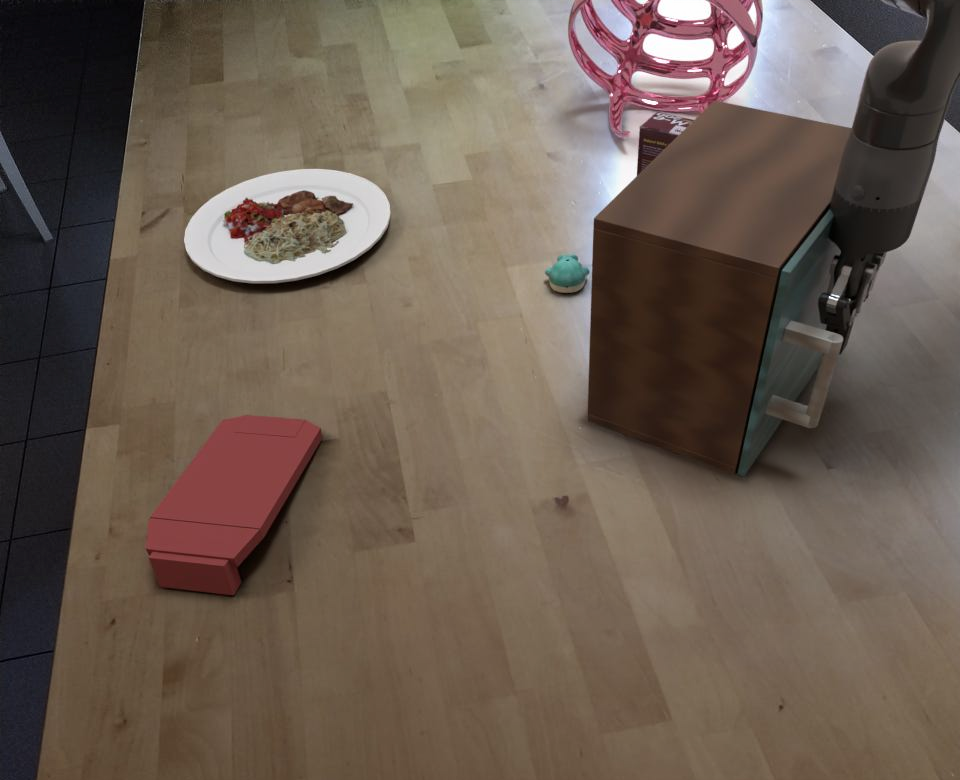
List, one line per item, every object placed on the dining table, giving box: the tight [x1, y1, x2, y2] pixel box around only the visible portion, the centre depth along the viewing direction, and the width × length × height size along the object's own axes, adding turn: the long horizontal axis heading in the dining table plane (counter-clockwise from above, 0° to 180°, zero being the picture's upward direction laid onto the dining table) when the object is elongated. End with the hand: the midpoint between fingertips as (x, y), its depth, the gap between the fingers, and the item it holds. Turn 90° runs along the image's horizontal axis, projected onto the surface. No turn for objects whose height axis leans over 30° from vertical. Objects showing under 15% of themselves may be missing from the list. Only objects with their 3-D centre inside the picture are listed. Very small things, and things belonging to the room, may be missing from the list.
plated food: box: [183, 168, 392, 284], centre depth 129 cm, size 30×30×3 cm
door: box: [737, 209, 843, 477], centre depth 91 cm, size 6×26×24 cm, turn 146°
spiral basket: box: [567, 0, 764, 139], centre depth 132 cm, size 28×28×27 cm
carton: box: [145, 414, 324, 596], centre depth 98 cm, size 12×5×25 cm
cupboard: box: [586, 101, 852, 475], centre depth 95 cm, size 18×26×24 cm
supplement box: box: [636, 111, 695, 177], centre depth 115 cm, size 9×5×16 cm, turn 56°
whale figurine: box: [544, 254, 590, 294], centre depth 117 cm, size 6×7×4 cm
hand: (833, 348), depth 93 cm, fingers closed
